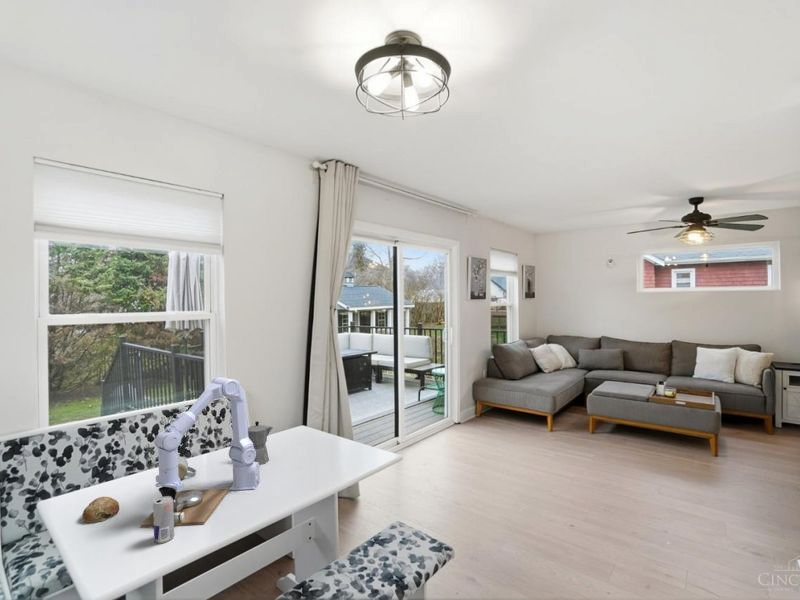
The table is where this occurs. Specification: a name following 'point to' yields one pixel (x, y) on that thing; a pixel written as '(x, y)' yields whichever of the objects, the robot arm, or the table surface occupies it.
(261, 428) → the coffeepot
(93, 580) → the table surface
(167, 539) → the energy drink
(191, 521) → the stand board
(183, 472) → the ceramic mug
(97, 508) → the bread roll
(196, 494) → the grey metal rounded piece
